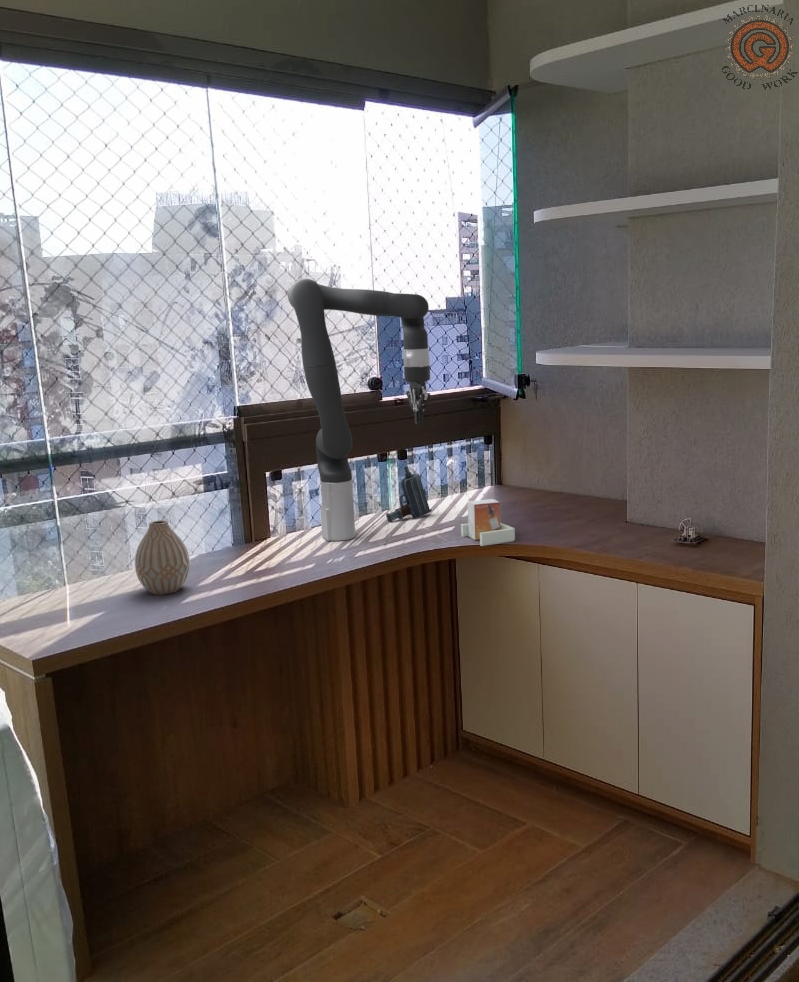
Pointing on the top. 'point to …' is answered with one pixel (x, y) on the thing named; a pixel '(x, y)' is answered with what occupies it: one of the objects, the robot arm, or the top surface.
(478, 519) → the small box
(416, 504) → the gun
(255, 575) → the top surface
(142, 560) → the vase
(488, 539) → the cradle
